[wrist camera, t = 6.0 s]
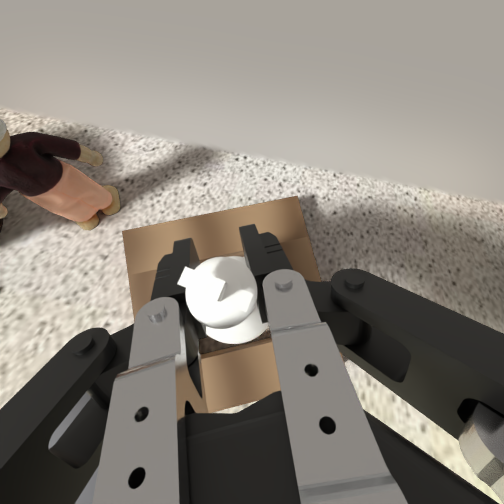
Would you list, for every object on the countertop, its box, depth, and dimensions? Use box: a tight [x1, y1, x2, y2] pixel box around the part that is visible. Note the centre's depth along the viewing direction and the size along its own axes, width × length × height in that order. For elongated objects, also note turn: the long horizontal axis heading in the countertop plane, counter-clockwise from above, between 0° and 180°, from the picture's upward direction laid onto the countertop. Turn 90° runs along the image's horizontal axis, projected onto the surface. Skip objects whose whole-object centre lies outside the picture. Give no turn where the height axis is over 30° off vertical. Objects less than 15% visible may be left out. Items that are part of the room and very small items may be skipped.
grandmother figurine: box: [0, 119, 120, 230], centre depth 17 cm, size 8×4×13 cm, turn 137°
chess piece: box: [177, 256, 269, 344], centre depth 10 cm, size 5×5×10 cm
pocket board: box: [122, 196, 345, 413], centre depth 21 cm, size 14×14×2 cm
